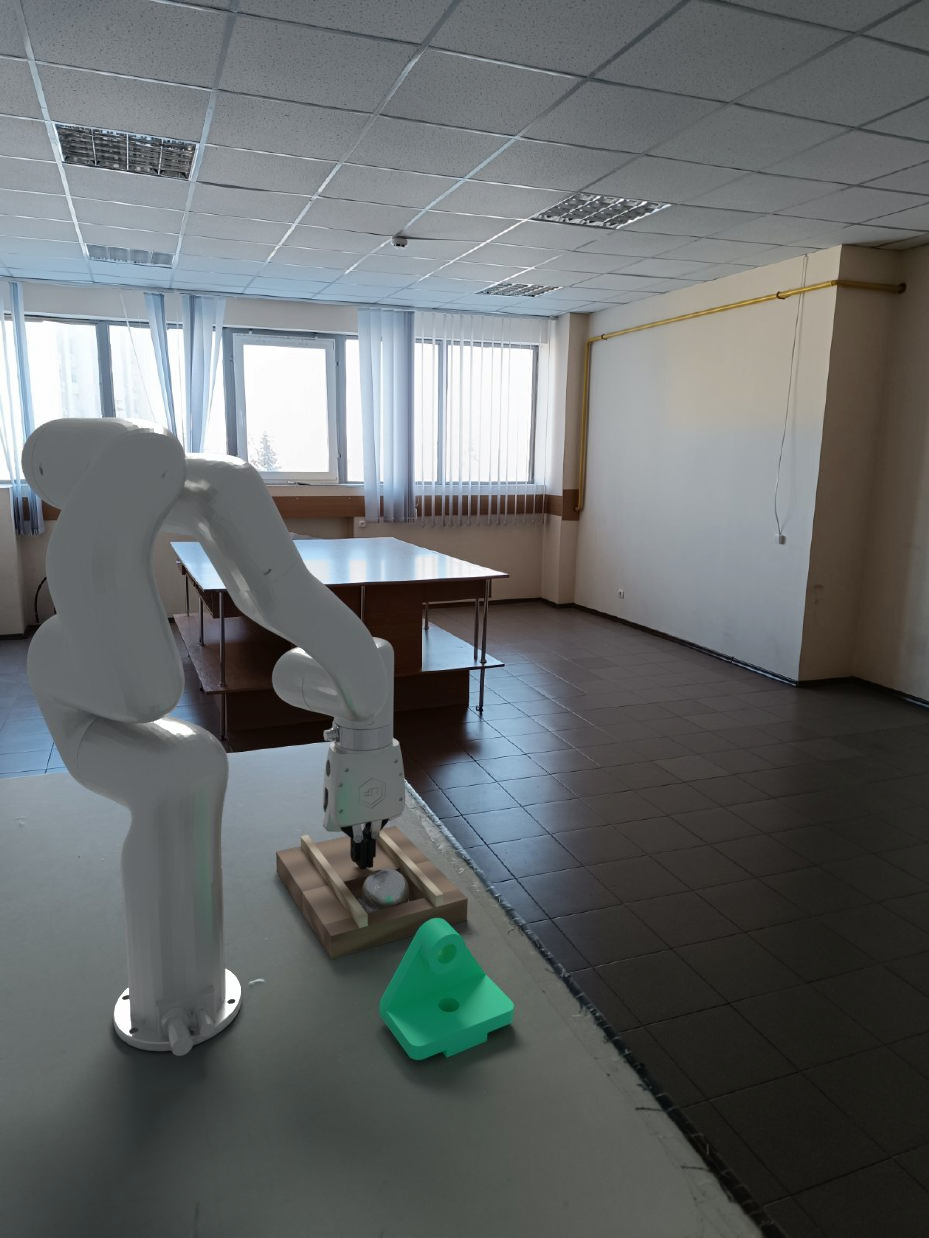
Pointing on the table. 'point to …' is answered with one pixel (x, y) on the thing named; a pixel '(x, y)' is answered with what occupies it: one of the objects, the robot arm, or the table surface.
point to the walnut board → (335, 882)
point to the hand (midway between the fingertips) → (363, 863)
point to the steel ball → (384, 890)
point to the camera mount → (442, 996)
